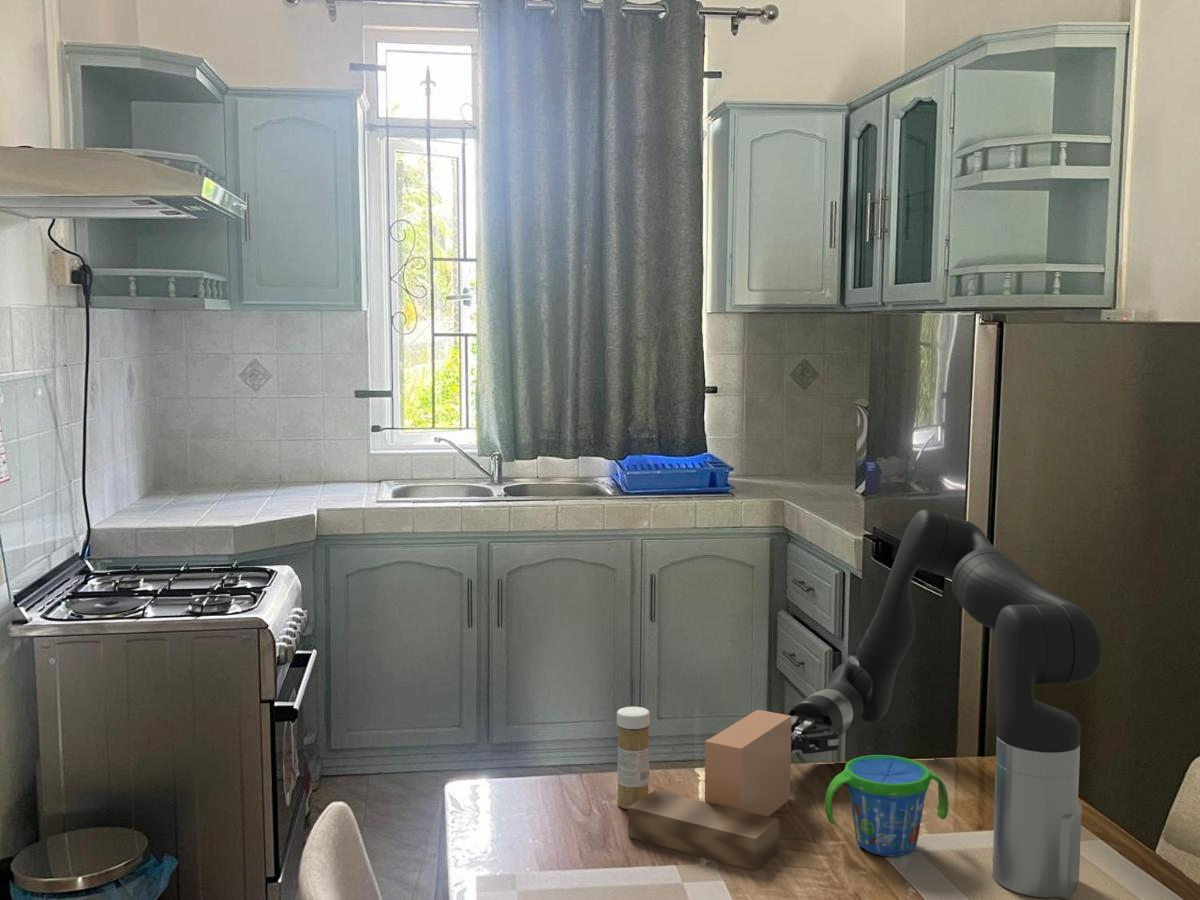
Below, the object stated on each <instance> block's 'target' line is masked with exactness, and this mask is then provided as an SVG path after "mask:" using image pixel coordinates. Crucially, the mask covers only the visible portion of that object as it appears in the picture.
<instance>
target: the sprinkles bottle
mask: <svg viewBox="0 0 1200 900" xmlns="http://www.w3.org/2000/svg"><path fill="white" fill-rule="evenodd" d="M650 716H651V714H650V711H649V709H647V708H645V707H641V706H626V707H622V708H620V709H618V710H617V711H616V725H617V728H618V729H617V800H616V801H617V805H618V806H619V807H620V808H623V809H625V810H628V807H630V806H631V805H633V804H634V803H636V802H637V801H639V800H641V799H642V798H644V797H645V796H647V795H648V794H649V784H650V745H649V744H650V743H649V737H650V736H649V733H650V732H649V731H650V729H649V728H650V725H651V723H650V722H651V717H650Z"/></svg>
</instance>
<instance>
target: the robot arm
mask: <svg viewBox="0 0 1200 900" xmlns="http://www.w3.org/2000/svg"><path fill="white" fill-rule="evenodd" d="M918 570H922V571H925V572H928V573H932V574H935V575H938V576H941V577H944V578H947V579H951V589H952V592H953V595H954V597H955V599H956V600H957V602H958V603H959V605H960V606H961V608H963V610H965V611H966V613H967V614H968V615H969V616H970V617H972V618H973V620H975V622H977V623H979V624H980V625H982V626H984V627H986V628H988V629H991V630H994V666H995V712H996V716H995V717H996V746H995V747H996V750H995V780H994V807H993V808H994V811H993V813H994V814H993V841H992V842H993V844H992V877H993V879H994V880H995V881H996V882H997V884H999V885H1000V886H1002V887H1004V888H1006V889H1008V890H1010V891H1012V892H1015V893H1018V894H1022V895H1024V896H1025V895H1026V896H1030V897H1038V898H1062V899H1066V900H1070V899H1071V897H1072V894H1073V893H1074V891H1075V888H1076V887H1077V885H1078V883H1079V880H1080V864H1081V863H1080V859H1081V840H1082V839H1081V838H1082V837H1081V835H1082V833H1081V832H1082V803H1081V802H1080V801H1079V783H1080V782H1079V781H1080V757H1081V756H1080V755H1081V753H1080V752H1081V734H1082V732H1081V731H1082V730H1081V724H1080V721H1079V720H1078V718H1077V717H1075V715H1072V714H1071V713H1069V712H1067V711H1065V710H1063V709H1060V708H1058V707H1055V706H1052V705H1049V704H1047V703H1043V702H1041V701H1039V700H1038V699H1036V698H1035V695H1034V685H1074V684H1078V683H1083V682H1086V681H1088V680H1089V679H1091V678H1092V677H1094V675H1096V673H1097V672H1098V671H1099V668H1100V666H1101V664H1102V661H1103V646H1102V645H1103V644H1102V639H1101V636H1100V631H1098V628H1097V626H1096V624H1095V622H1094V620H1093V619H1092V618H1091V617H1090V615H1089V614H1088V613H1087V612H1086V611H1085V610H1084V609H1083V608H1081V607H1080V606H1079V605H1077V604H1075V603H1073V602H1071V601H1070V600H1068V599H1065V598H1064V597H1062V596H1060V595H1058V594H1056V593H1054V592H1052V591H1051V590H1050V589H1048V588H1047V587H1045V586H1044V585H1042V584H1041V583H1040V582H1039V581H1037V580H1036V579H1035V578H1033V577H1032V576H1031V575H1029V574H1028V572H1026V571H1025V570H1024V569H1023V568H1022V567H1021V566H1019V565H1018V564H1017V563H1016V562H1015V561H1014V560H1012V559H1011V558H1010V557H1008V556H1007V555H1006V554H1004V552H1001V551H1000V549H997V548H996V547H995V546H994V545H993V544H992V543H991V541H990V540H989V538H988V537H987V536H986V534H985V533H984V532H983V530H982V529H981V528H980V527H979V526H978V525H976V524H974V523H973V522H970V521H969V520H966V519H962V518H960V517H956V516H953V515H949V514H946V513H944V512H940V511H937V510H932V509H927V508H926V509H925V508H924V509H921V510H919V511H918V512H916V513H915V514H914V516H913V517H912V518H911V520H910V522H909V523H908V525H907V527H906V529H905V531H904V534H903V536H902V539H901V541H900V544H899V547H898V550H897V552H896V555H895V559H894V561H893V564H892V567H891V570H890V572H889V575H888V578H887V581H886V584H885V587H884V590H883V593H882V596H881V599H880V601H879V603H878V604H879V605H878V607H877V609H876V612H875V614H874V616H873V618H872V620H871V622H870V624H869V626H868V628H867V629H866V631H865V634H864V635H863V637H862V638H861V641H860V643H859V645H858V646H857V649H856V654H855V656H856V659H857V662H858V663H859V665H860V666H859V665H857V664H855V663H851V662H845V663H841V664H840V665H838V666H837V667H836V668H835V669H834V670H833V672H832V673H831V675H830V677H829V679H828V681H827V685H826V687H824V688H823V689H822V690H819V691H816V692H814V693H812V694H809V696H807V697H806V698H804V699H803V700H801V701H800V702H798V703H796V704H795V705H794V706H793V707H791V710H790V711H789V712H788V714H787V715H789V716H791V754H796V753H797V752H801V754H802V755H803V754H804V755H809V754H816V753H817V754H818V753H825V752H832V751H833V752H834V751H838V750H839V745H840V737H841V736H842V735H843V734H844V733H846V731H848V729H849V728H850V727H851V726H853V725H854V724H855V723H857V721H859V720H860V721H862V722H865V723H867V724H868V723H869V724H872V723H877V722H878V721H880V720H881V719H883V718H884V717H885V715H886V713H887V712H888V710H889V708H890V705H891V701H892V699H893V691H894V685H895V680H896V676H897V671H898V670H899V667H900V665H901V663H902V661H903V659H904V657H905V656H906V654H907V652H908V650H909V648H910V647H911V645H912V642H913V641H914V638H915V634H916V619H915V618H916V617H915V616H916V615H915V611H914V605H913V600H912V592H911V591H912V589H911V587H912V581H913V578H914V575H915V573H916V572H917V571H918Z"/></svg>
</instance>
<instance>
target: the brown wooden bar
mask: <svg viewBox="0 0 1200 900" xmlns="http://www.w3.org/2000/svg"><path fill="white" fill-rule="evenodd" d="M627 810H628V813H627V814H628V815H627V816H628V818H627V819H628V821H627V827H628V828H627V830H628V831H627V832H628V833H627V834H628V835H627V837H628V838H630V839H634V840H638V841H642V842H645V843H648V844H652V845H656V846H660V847H664V848H668V849H672V850H675V851H679V852H683V853H686V854H692V855H694V856H697V857H702V858H706V859H710V860H713V861H716V862H721V863H725V864H728V865H731V866H732V865H733V866H735V867H740V868H743V869H747V870H751V871H754V872H755V871H757V869H759V868H760V867H761V866H762V865H763V864H765V863H766V862H767V861H768V860H769V859H770V858H772V857H773V855H775V854H776V853H777V852H778V851H779V850H780V849H779V847H780V841H779V840H780V819H779V818H775V817H771V816H763V815H759V814H755V813H751V812H746V811H742V810H738V809H734V808H729V807H725V806H721V805H717V804H713V803H708V802H705V800H699V799H695V798H691V797H686V796H683V795H679V794H678V795H677V794H673V793H669V792H665V791H662V790H656V789H655V790H653V791H652V792H650V793H648V795H647V796H645V797H644V798H642V799H641V800H639V801H637V802H636V803H634V804H633V805H631V806H630V807H628V809H627Z"/></svg>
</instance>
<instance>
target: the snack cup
mask: <svg viewBox="0 0 1200 900" xmlns="http://www.w3.org/2000/svg"><path fill="white" fill-rule="evenodd" d="M844 766H845V767H844V770H842V771H841V772H839V773H838V774H837V775H834V778H833V779H832V780H831V782H830V783H829V786H828V788H827V790H826V795H825V800H824V810H825V815H826V818H827V820H828V822H829V823H830V824H831V825H832V826H833V825H835V819H834V811H833V810H834V809H833V807H834V806H833V803H832V802H833V797H834V794H835V793H836V792H837V791H838V790H839V788H841V786H842V785H844V784H846V787H847V790H848V794H849V798H850V799H849V800H850V804H851V815H852V819H853V820H852V821H853V827H854V829H853V830H854V835H855V838H856V843H857V845H858V846H859V847H860V848H863V849H864V850H866V851H867V852H870V853H872V854H874V855H878V856H882V857H886V856H887V857H898V856H902V855H910V854H912V852H913V851H914V850H915V848H916V847H917V845H918V840H919V836H920V835H919V834H920V830H921V823H922V819H923V811H924V806H925V799H926V795H927V791H928V789H929V787H930V784H931V783H930V782H931V781H932V780H934V781H936V782H937V791H938V792H937V793H938V795H937V796H938V797H937V798H938V804H937V809H936V810H937V813H936V814H937V816H938V817H939V818H940V819H941V820H945V819H947V817H948V814H949V809H950V808H949V795H948V789H947V787H946V785H945V783H944V782H943V780H942V779H941V778H940V777H939V776H938V775H937V774H936V773H935V772H934V771H932V770H930V769H928V768H927V766H925V765H923V764H922V763H921V762H919V761H916V760H913V759H910V758H908V757H907V758H906V757H901V756H896V755H890V754H889V755H888V754H887V755H886V754H871V755H870V754H869V755H864V756H858V757H856V758H853V759H850V760H849V761H848V762H846V764H845V765H844Z"/></svg>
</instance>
